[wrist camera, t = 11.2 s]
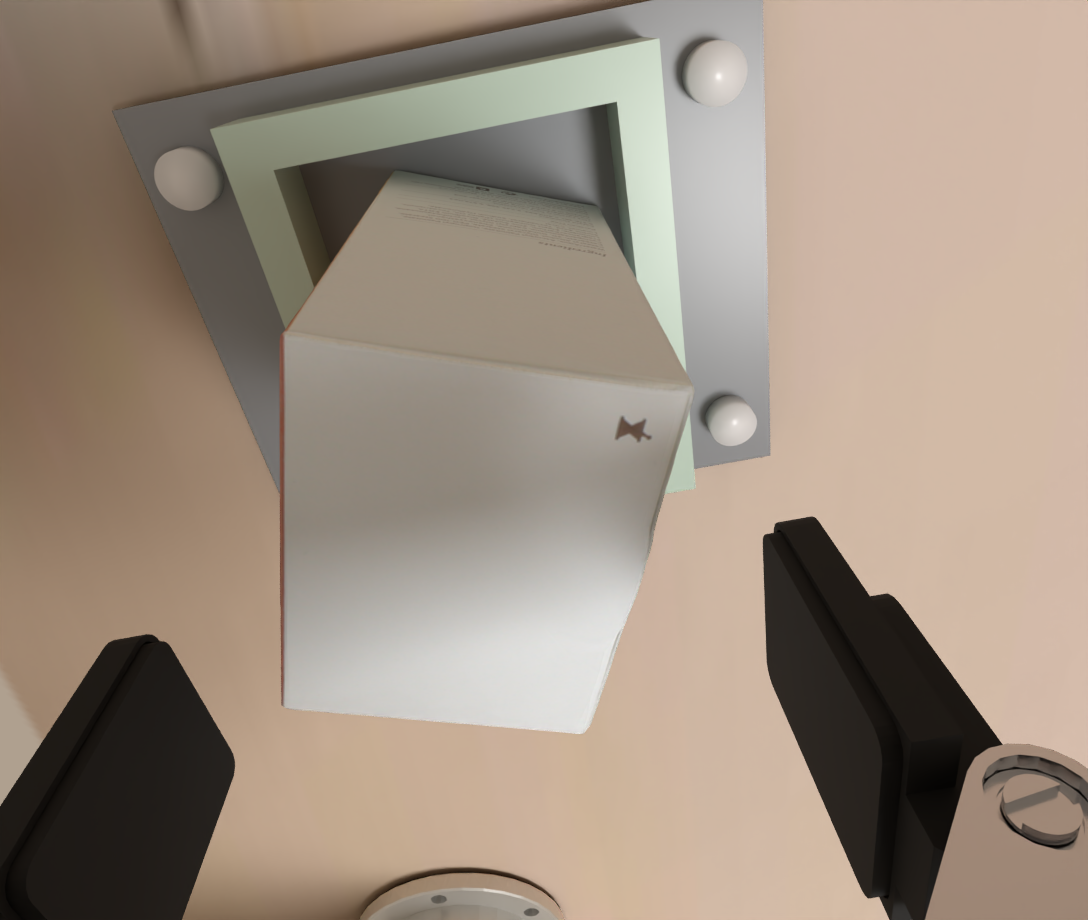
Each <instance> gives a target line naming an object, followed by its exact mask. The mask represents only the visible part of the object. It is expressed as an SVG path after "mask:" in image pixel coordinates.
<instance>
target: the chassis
mask: <svg viewBox="0 0 1088 920" xmlns="http://www.w3.org/2000/svg"><path fill="white" fill-rule="evenodd" d="M112 112H113V115H114V117H115V119H116V122H117V124H118V126H119V128H120V131H121V133H122V135H123V138H124V140H125V142H126V144H127V147H128V149H129V151H130V153H131V156H132V158H133V160H134V163H135V165H136V167H137V169H138V172H139V174H140V176H141V179H142V181H143V183H144V185H145V188H146V190H147V192H148V195H149V197H150V199H151V201H152V204H153V206H154V208H155V211H156V213H157V215H158V217H159V220H160V222H161V224H162V226H163V229H164V231H165V233H166V236H167V238H168V240H169V242H170V245H171V247H172V249H173V252H174V254H175V256H176V258H177V261H178V263H179V265H180V268H181V270H182V272H183V274H184V277H185V279H186V281H187V284H188V286H189V288H190V290H191V293H192V295H193V297H194V299H195V302H196V304H197V306H198V309H199V311H200V313H201V315H202V318H203V320H204V322H205V325H206V327H207V329H208V331H209V334H210V336H211V338H212V341H213V343H214V345H215V347H216V350H217V352H218V354H219V357H220V359H221V361H222V363H223V366H224V368H225V370H226V372H227V375H228V377H229V379H230V382H231V384H232V386H233V388H234V391H235V393H236V395H237V398H238V400H239V402H240V404H241V407H242V409H243V411H244V414H245V416H246V418H247V420H248V423H249V425H250V427H251V430H252V432H253V434H254V436H255V439H256V441H257V443H258V445H259V448H260V450H261V452H262V455H263V457H264V459H265V461H266V464H267V466H268V468H269V471H270V473H271V475H272V477H273V480H274V482H275V484H276V487H277V489H278V491H279V493H280V335H281V334H282V333H283V332H284V331H285V329H286V328H287V326H288V325H289V323H290V322H291V320H292V319H293V318H294V316H295V315H296V314H297V312H298V311H299V310H300V308H301V307H302V305H303V304H304V302H305V301H306V299H307V298H308V296H309V295H310V294H311V292H312V291H313V289H314V288H315V286H316V285H317V283H318V282H319V280H320V279H321V277H322V276H323V274H324V273H325V271H326V270H327V268H328V267H329V265H330V264H331V262H332V261H333V259H334V258H335V256H336V255H337V254H338V252H339V251H340V249H341V248H342V246H343V244H344V243H345V242H346V240H347V239H348V237H349V235H350V234H351V233H352V231H353V230H354V228H355V227H356V225H357V224H358V223H359V221H360V220H361V218H362V217H363V215H364V214H365V212H366V211H367V210H368V208H369V207H370V205H371V204H372V202H373V201H374V199H375V198H376V196H377V195H378V193H379V191H380V190H381V188H382V187H383V185H384V184H385V182H386V181H387V179H388V178H389V177H390V175H391V174H392V172H393V171H395V170H397V171H404V172H410V173H415V174H420V175H426V176H432V177H437V178H443V179H448V180H453V181H458V182H463V183H469V184H474V185H480V186H485V187H491V188H496V189H501V190H507V191H512V192H518V193H524V194H529V195H536V196H542V197H547V198H552V199H558V200H563V201H570V202H575V203H580V204H587V205H593V206H597V207H599V209H600V211H601V213H602V215H603V217H604V219H605V221H606V223H607V225H608V227H609V228H610V230H611V232H612V234H613V236H614V238H615V240H616V242H617V244H618V246H619V248H620V249H621V251H622V253H623V255H624V257H625V259H626V261H627V263H628V265H629V267H630V268H631V270H632V272H633V274H634V276H635V277H636V279H637V281H638V283H639V285H640V287H641V289H642V291H643V293H644V295H645V296H646V298H647V300H648V302H649V304H650V306H651V308H652V310H653V312H654V313H655V315H656V317H657V319H658V321H659V323H660V325H661V326H662V328H663V330H664V332H665V334H666V336H667V338H668V340H669V341H670V343H671V345H672V347H673V349H674V351H675V353H676V355H677V357H678V359H679V361H680V363H681V364H682V366H683V368H684V370H685V371H686V373H687V375H688V377H689V379H690V381H691V382H692V384H693V386H694V396H693V402H692V405H691V408H690V411H689V414H688V417H687V421H686V424H685V428H684V431H683V434H682V437H681V440H680V443H679V446H678V450H677V453H676V457H675V461H674V464H673V468H672V472H671V475H670V478H669V481H668V484H667V487H666V491H665V494H667V493H673V492H679V491H684V490H690V489H696V486H695V474H694V469H696V468H702V467H708V466H713V465H719V464H725V463H730V462H736V461H742V460H747V459H753V458H758V457H764V456H770V404H769V342H768V281H767V219H766V157H765V96H764V34H763V0H650V1H645V2H640V3H635V4H630V5H625V6H620V7H616V8H611V9H606V10H601V11H596V12H591V13H586V14H581V15H577V16H572V17H567V18H562V19H557V20H552V21H547V22H542V23H537V24H533V25H528V26H523V27H518V28H513V29H508V30H503V31H498V32H494V33H489V34H484V35H479V36H474V37H469V38H464V39H459V40H455V41H450V42H445V43H440V44H435V45H430V46H425V47H420V48H415V49H411V50H406V51H401V52H396V53H391V54H386V55H381V56H376V57H372V58H367V59H362V60H357V61H352V62H347V63H342V64H337V65H333V66H328V67H323V68H318V69H313V70H308V71H303V72H298V73H293V74H289V75H284V76H279V77H274V78H269V79H264V80H259V81H254V82H250V83H245V84H240V85H235V86H230V87H225V88H220V89H215V90H211V91H206V92H201V93H196V94H191V95H186V96H181V97H176V98H171V99H167V100H162V101H157V102H152V103H147V104H142V105H137V106H132V107H128V108H123V109H119V110H114V111H112Z"/></svg>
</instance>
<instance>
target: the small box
mask: <svg viewBox="0 0 1088 920" xmlns="http://www.w3.org/2000/svg"><path fill="white" fill-rule="evenodd" d="M693 396H694V386H693V384H692V382H691V381H690V379H689V377H688V375H687V373H686V371H685V370H684V368H683V366H682V364H681V363H680V361H679V359H678V357H677V355H676V353H675V351H674V349H673V347H672V345H671V343H670V341H669V340H668V338H667V336H666V334H665V332H664V330H663V328H662V326H661V325H660V323H659V321H658V319H657V317H656V315H655V313H654V312H653V310H652V308H651V306H650V304H649V302H648V300H647V298H646V296H645V295H644V293H643V291H642V289H641V287H640V285H639V283H638V281H637V279H636V277H635V276H634V274H633V272H632V270H631V268H630V267H629V265H628V263H627V261H626V259H625V257H624V255H623V253H622V251H621V249H620V248H619V246H618V244H617V242H616V240H615V238H614V236H613V234H612V232H611V230H610V228H609V227H608V225H607V223H606V221H605V219H604V217H603V215H602V213H601V211H600V209H599V207H597V206H593V205H587V204H580V203H575V202H570V201H563V200H558V199H552V198H547V197H542V196H536V195H529V194H524V193H518V192H512V191H507V190H501V189H496V188H491V187H485V186H480V185H474V184H469V183H463V182H458V181H453V180H448V179H443V178H437V177H432V176H426V175H420V174H415V173H410V172H404V171H397V170H395V171H393V172H392V174H391V175H390V177H389V178H388V179H387V181H386V182H385V184H384V185H383V187H382V188H381V190H380V191H379V193H378V195H377V196H376V198H375V199H374V201H373V202H372V204H371V205H370V207H369V208H368V210H367V211H366V212H365V214H364V215H363V217H362V218H361V220H360V221H359V223H358V224H357V225H356V227H355V228H354V230H353V231H352V233H351V234H350V235H349V237H348V239H347V240H346V242H345V243H344V244H343V246H342V248H341V249H340V251H339V252H338V254H337V255H336V256H335V258H334V259H333V261H332V262H331V264H330V265H329V267H328V268H327V270H326V271H325V273H324V274H323V276H322V277H321V279H320V280H319V282H318V283H317V285H316V286H315V288H314V289H313V291H312V292H311V294H310V295H309V296H308V298H307V299H306V301H305V302H304V304H303V305H302V307H301V308H300V310H299V311H298V312H297V314H296V315H295V316H294V318H293V319H292V320H291V322H290V323H289V325H288V326H287V328H286V329H285V331H284V332H283V333H282V334H281V335H280V605H281V695H282V700H281V705H282V706H283V707H285V708H287V709H293V710H304V711H317V712H328V713H339V714H352V715H367V716H376V717H388V718H401V719H412V720H422V721H435V722H447V723H459V724H471V725H484V726H495V727H507V728H519V729H531V730H542V731H554V732H564V733H574V734H583V733H585V731H586V730H587V729H588V727H589V726H590V725H591V722H592V719H593V716H594V714H595V711H596V708H597V706H598V703H599V700H600V697H601V694H602V691H603V688H604V685H605V682H606V679H607V676H608V674H609V670H610V667H611V664H612V661H613V658H614V655H615V652H616V649H617V646H618V643H619V640H620V637H621V634H622V631H623V628H624V625H625V623H626V620H627V618H628V615H629V613H630V610H631V608H632V605H633V603H634V601H635V598H636V596H637V593H638V589H639V586H640V583H641V580H642V577H643V574H644V570H645V566H646V562H647V559H648V556H649V553H650V549H651V546H652V542H653V535H654V530H655V526H656V522H657V518H658V514H659V511H660V508H661V504H662V501H663V498H664V494H665V491H666V487H667V484H668V481H669V478H670V475H671V472H672V468H673V464H674V461H675V457H676V453H677V450H678V446H679V443H680V440H681V437H682V434H683V431H684V428H685V424H686V421H687V417H688V414H689V411H690V408H691V405H692V402H693Z"/></svg>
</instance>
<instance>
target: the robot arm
mask: <svg viewBox="0 0 1088 920" xmlns="http://www.w3.org/2000/svg"><path fill="white" fill-rule="evenodd" d="M763 561H764V591H765V622H766V652H767V666H768V671H769V676H770V679H771V682H772V685H773V687H774V690H775V692H776V694H777V697H778V699H779V701H780V703H781V706H782V708H783V710H784V713H785V715H786V717H787V720H788V722H789V724H790V726H791V729H792V731H793V733H794V736H795V738H796V740H797V743H798V745H799V747H800V749H801V752H802V754H803V756H804V759H805V761H806V763H807V766H808V768H809V770H810V772H811V775H812V777H813V779H814V782H815V784H816V786H817V789H818V791H819V793H820V795H821V798H822V800H823V802H824V805H825V807H826V809H827V812H828V814H829V816H830V818H831V821H832V823H833V825H834V828H835V830H836V832H837V835H838V837H839V839H840V841H841V844H842V846H843V848H844V851H845V853H846V855H847V858H848V860H849V862H850V864H851V867H852V869H853V871H854V874H855V876H856V878H857V881H858V883H859V885H860V887H861V889H862V891H863V893H864V894H865V896H866V897H867V898H874V897H880V900H881V902H882V904H883V906H884V908H885V911H886V913H887V915H888V917H889V919H890V920H1088V769H1087V768H1086V767H1085V766H1083V765H1082V764H1080V763H1079V762H1077V761H1076V760H1074V759H1072V758H1069V757H1067V756H1065V755H1063V754H1060V753H1058V752H1056V751H1054V750H1051V749H1047V748H1043V747H1038V746H1034V745H1030V744H1004V745H1003V744H1002V743H1001V742H1000V740H999V739H998V738H997V736H996V735H995V733H994V732H993V731H992V729H991V728H990V727H989V725H988V724H987V723H986V721H985V720H984V718H983V717H982V716H981V714H980V713H979V712H978V710H977V709H976V707H975V706H974V705H973V703H972V702H971V701H970V699H969V698H968V696H967V695H966V694H965V692H964V691H963V690H962V688H961V687H960V685H959V684H958V683H957V681H956V680H955V679H954V677H953V676H952V674H951V673H950V672H949V670H948V669H947V668H946V666H945V665H944V663H943V662H942V661H941V659H940V658H939V657H938V655H937V654H936V653H935V651H934V650H933V648H932V647H931V646H930V644H929V643H928V642H927V640H926V639H925V637H924V636H923V635H922V633H921V632H920V631H919V629H918V628H917V626H916V625H915V624H914V622H913V621H912V620H911V618H910V617H909V615H908V614H907V613H906V611H905V610H904V609H903V607H902V606H901V604H900V603H899V602H898V601H897V600H896V599H895V598H894V597H893V596H891V595H889V594H881V595H876V596H869V594H868V593H867V591H866V590H865V588H864V587H863V586H862V584H861V583H860V581H859V580H858V578H857V577H856V575H855V574H854V572H853V571H852V569H851V568H850V567H849V565H848V564H847V562H846V561H845V559H844V558H843V556H842V555H841V553H840V552H839V550H838V549H837V547H836V546H835V545H834V543H833V542H832V540H831V539H830V537H829V536H828V534H827V533H826V531H825V530H824V528H823V527H822V526H821V524H820V523H819V521H818V520H817V519H816V518H815V517H806V518H801V519H795V520H789V521H784V522H778V523H776V524H775V527H774V533H771V534H766V535H764V537H763ZM234 770H235V761H234V756H233V753H232V751H231V749H230V747H229V746H228V744H227V742H226V741H225V739H224V737H223V735H222V734H221V732H220V730H219V729H218V727H217V725H216V723H215V722H214V720H213V718H212V717H211V715H210V713H209V712H208V710H207V708H206V706H205V705H204V703H203V701H202V700H201V698H200V696H199V694H198V693H197V691H196V689H195V688H194V686H193V684H192V683H191V681H190V679H189V677H188V676H187V674H186V672H185V671H184V669H183V667H182V665H181V664H180V662H179V660H178V659H177V657H176V655H175V653H174V652H173V650H172V648H171V647H170V646H169V644H168V643H166V642H162V641H159V640H158V639H157V637H155V636H153V635H147V634H146V635H141V636H135V637H130V638H124V639H118V640H113V641H111V642H109V643H108V644H107V645H106V646H105V647H104V649H103V650H102V652H101V653H100V655H99V656H98V658H97V659H96V661H95V662H94V664H93V665H92V667H91V668H90V670H89V671H88V673H87V675H86V676H85V678H84V679H83V681H82V682H81V684H80V685H79V687H78V688H77V690H76V691H75V693H74V694H73V696H72V697H71V699H70V700H69V702H68V704H67V705H66V707H65V708H64V710H63V711H62V713H61V714H60V716H59V717H58V719H57V720H56V722H55V723H54V725H53V726H52V728H51V729H50V731H49V733H48V734H47V736H46V737H45V739H44V740H43V742H42V743H41V745H40V746H39V748H38V749H37V751H36V752H35V754H34V756H33V757H32V759H31V760H30V762H29V763H28V765H27V766H26V768H25V769H24V771H23V773H22V774H21V775H20V777H19V778H18V780H17V781H16V783H15V784H14V786H13V787H12V789H11V791H10V792H9V794H8V795H7V797H6V798H5V800H4V801H3V803H2V804H1V806H0V920H182V918H183V915H184V912H185V909H186V906H187V904H188V901H189V898H190V895H191V893H192V890H193V887H194V884H195V882H196V879H197V876H198V873H199V870H200V868H201V865H202V862H203V859H204V857H205V854H206V851H207V848H208V846H209V843H210V840H211V837H212V834H213V832H214V829H215V826H216V823H217V821H218V818H219V815H220V812H221V810H222V807H223V804H224V801H225V798H226V796H227V793H228V790H229V787H230V785H231V782H232V779H233V776H234ZM360 920H564V917H563V914H562V911H561V910H560V908H559V907H558V906H557V904H556V903H555V902H554V901H553V900H552V899H551V898H550V897H548V896H547V895H546V894H545V893H544V892H542V891H540V890H538V889H537V888H535V887H533V886H531V885H529V884H527V883H524V882H521V881H518V880H515V879H513V878H508V877H503V876H498V875H494V874H483V873H449V874H441V875H433V876H428V877H424V878H420V879H416V880H412V881H410V882H407V883H405V884H402V885H399V886H397V887H395V888H393V889H391V890H389V891H388V892H386V893H384V894H382V895H381V896H379V897H378V898H377V899H376V900H375V901H373V902H372V903H371V904H370V905H369V906H368V907H367V908H366V910H365V911H364V912H363V914H362V915H361V917H360Z"/></svg>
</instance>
